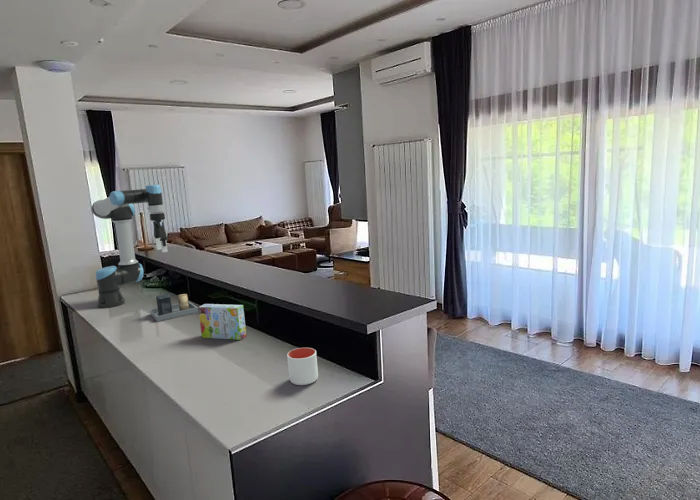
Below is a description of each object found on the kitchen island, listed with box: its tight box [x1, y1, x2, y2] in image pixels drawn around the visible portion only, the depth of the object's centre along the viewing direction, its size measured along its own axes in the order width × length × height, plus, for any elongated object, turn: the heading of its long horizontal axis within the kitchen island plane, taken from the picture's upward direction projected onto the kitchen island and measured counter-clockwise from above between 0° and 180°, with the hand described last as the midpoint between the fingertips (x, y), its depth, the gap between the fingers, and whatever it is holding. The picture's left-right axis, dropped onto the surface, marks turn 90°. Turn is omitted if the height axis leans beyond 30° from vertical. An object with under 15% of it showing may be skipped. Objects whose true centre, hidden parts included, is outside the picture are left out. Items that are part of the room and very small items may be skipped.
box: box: [155, 293, 172, 315], centre depth 245 cm, size 8×6×11 cm
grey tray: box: [149, 300, 199, 323], centre depth 249 cm, size 18×22×3 cm
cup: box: [286, 347, 319, 386], centre depth 155 cm, size 10×10×10 cm
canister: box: [177, 293, 189, 311], centre depth 251 cm, size 5×5×9 cm
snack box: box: [197, 303, 247, 341], centre depth 204 cm, size 21×6×15 cm, turn 71°
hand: (162, 250), depth 250 cm, fingers open, 13 cm apart
